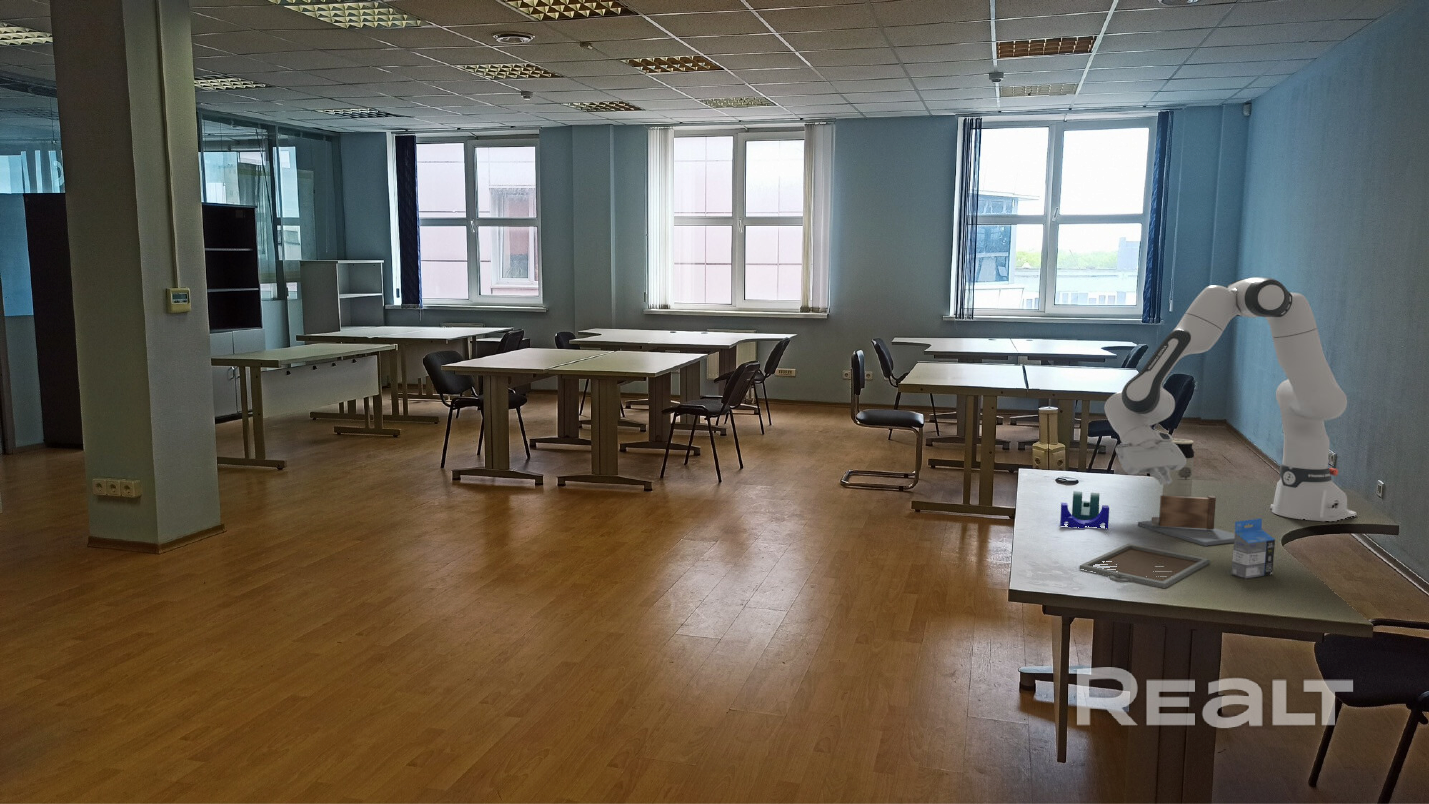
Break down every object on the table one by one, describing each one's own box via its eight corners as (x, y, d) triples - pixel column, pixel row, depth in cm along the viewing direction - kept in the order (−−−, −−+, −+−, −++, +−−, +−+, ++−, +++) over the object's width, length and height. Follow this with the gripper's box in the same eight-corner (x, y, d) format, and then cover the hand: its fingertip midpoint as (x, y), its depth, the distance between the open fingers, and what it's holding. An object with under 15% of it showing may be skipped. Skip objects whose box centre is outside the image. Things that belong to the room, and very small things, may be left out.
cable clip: (1061, 527, 263) (1062, 506, 262) (1060, 524, 267) (1061, 502, 266) (1108, 531, 260) (1110, 509, 259) (1107, 527, 264) (1108, 505, 263)
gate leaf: (1211, 527, 257) (1213, 495, 256) (1213, 529, 255) (1215, 497, 254) (1150, 524, 260) (1152, 492, 259) (1152, 526, 258) (1154, 494, 257)
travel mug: (1158, 495, 303) (1162, 437, 301) (1185, 495, 302) (1189, 438, 300) (1167, 500, 295) (1170, 442, 293) (1194, 501, 294) (1198, 442, 292)
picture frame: (1209, 558, 230) (1160, 586, 209) (1209, 565, 230) (1159, 593, 209) (1128, 543, 243) (1074, 567, 222) (1127, 549, 243) (1073, 574, 222)
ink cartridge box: (1245, 579, 217) (1249, 525, 216) (1230, 574, 221) (1234, 521, 219) (1273, 575, 221) (1277, 521, 219) (1257, 570, 224) (1261, 517, 223)
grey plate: (1176, 521, 270) (1177, 517, 270) (1245, 540, 250) (1245, 536, 249) (1137, 525, 265) (1138, 521, 265) (1204, 545, 245) (1204, 542, 244)
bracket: (1097, 524, 267) (1099, 496, 266) (1071, 521, 270) (1073, 493, 269) (1099, 510, 284) (1100, 483, 283) (1074, 507, 286) (1075, 481, 285)
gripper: (1119, 438, 271) (1144, 479, 263) (1174, 434, 278) (1201, 473, 270) (1106, 451, 275) (1131, 492, 268) (1161, 447, 283) (1187, 486, 275)
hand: (1166, 483), depth 269 cm, fingers closed
